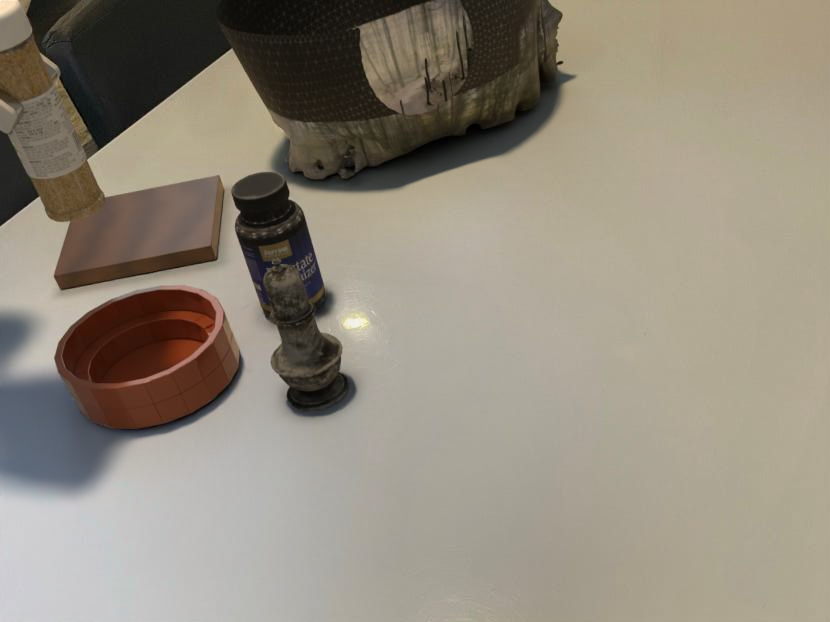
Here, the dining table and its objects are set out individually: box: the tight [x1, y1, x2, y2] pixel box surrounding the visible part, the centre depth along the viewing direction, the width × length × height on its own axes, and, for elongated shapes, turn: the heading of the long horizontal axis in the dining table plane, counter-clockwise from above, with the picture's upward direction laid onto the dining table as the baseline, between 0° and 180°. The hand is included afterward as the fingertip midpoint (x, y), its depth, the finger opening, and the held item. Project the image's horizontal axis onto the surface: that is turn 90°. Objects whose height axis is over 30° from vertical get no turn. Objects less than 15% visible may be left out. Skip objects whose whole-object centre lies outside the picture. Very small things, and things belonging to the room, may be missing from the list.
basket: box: [215, 0, 564, 181], centre depth 102 cm, size 28×35×16 cm
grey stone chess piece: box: [263, 257, 350, 412], centre depth 75 cm, size 6×6×12 cm
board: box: [53, 174, 225, 290], centre depth 100 cm, size 16×15×2 cm
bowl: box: [53, 284, 240, 430], centre depth 82 cm, size 14×14×4 cm
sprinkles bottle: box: [0, 0, 106, 223], centre depth 67 cm, size 5×5×13 cm
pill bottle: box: [230, 171, 327, 317], centre depth 84 cm, size 6×6×11 cm
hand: (36, 102), depth 66 cm, fingers closed on sprinkles bottle, 4 cm apart
